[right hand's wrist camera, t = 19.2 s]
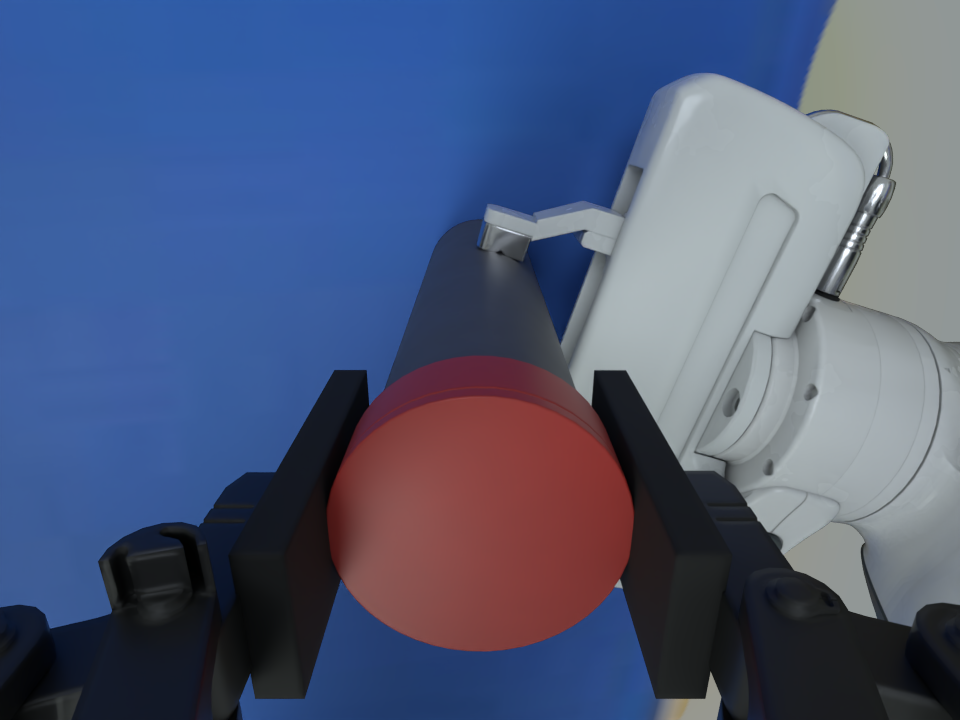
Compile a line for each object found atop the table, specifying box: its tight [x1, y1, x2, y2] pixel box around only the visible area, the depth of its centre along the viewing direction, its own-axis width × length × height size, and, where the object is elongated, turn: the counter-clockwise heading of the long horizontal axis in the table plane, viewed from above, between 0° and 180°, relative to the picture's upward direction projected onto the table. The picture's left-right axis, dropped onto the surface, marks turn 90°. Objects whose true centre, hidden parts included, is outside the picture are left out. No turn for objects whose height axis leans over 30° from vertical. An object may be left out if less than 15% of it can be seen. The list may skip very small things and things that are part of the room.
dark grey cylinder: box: [384, 219, 576, 390], centre depth 20 cm, size 5×5×20 cm
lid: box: [326, 356, 634, 651], centre depth 12 cm, size 6×6×2 cm
